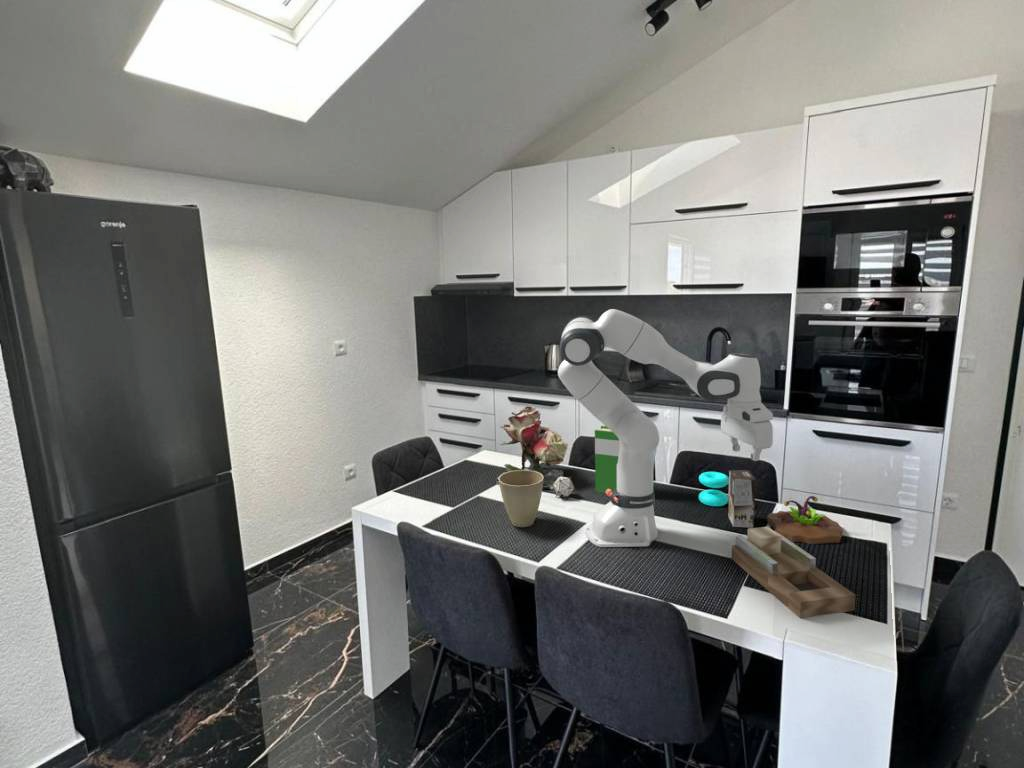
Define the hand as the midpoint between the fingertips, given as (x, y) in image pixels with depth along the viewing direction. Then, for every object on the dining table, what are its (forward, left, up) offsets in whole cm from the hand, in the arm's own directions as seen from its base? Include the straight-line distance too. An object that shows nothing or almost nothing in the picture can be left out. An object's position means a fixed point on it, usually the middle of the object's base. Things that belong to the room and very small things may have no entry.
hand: (745, 455), depth 156 cm
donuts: (+7, +30, -27) cm, 41 cm away
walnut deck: (-2, -23, -27) cm, 35 cm away
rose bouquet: (-49, +71, -27) cm, 90 cm away
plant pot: (-62, +29, -27) cm, 73 cm away
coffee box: (+7, +13, -27) cm, 31 cm away
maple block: (-2, -13, -23) cm, 26 cm away
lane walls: (-2, -17, -23) cm, 28 cm away
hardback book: (-20, +48, -27) cm, 59 cm away
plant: (+23, +3, -28) cm, 36 cm away
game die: (-43, +48, -27) cm, 70 cm away
